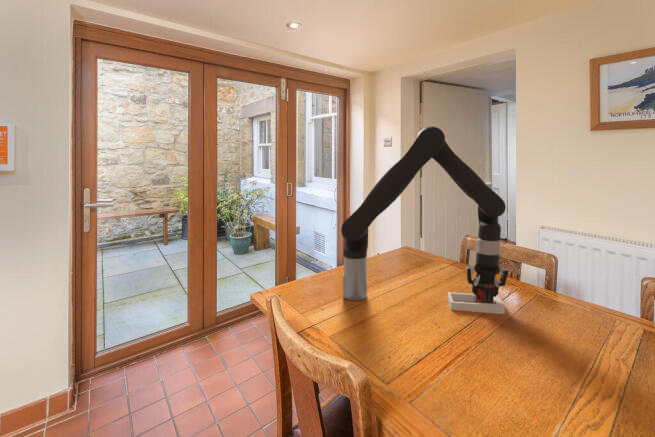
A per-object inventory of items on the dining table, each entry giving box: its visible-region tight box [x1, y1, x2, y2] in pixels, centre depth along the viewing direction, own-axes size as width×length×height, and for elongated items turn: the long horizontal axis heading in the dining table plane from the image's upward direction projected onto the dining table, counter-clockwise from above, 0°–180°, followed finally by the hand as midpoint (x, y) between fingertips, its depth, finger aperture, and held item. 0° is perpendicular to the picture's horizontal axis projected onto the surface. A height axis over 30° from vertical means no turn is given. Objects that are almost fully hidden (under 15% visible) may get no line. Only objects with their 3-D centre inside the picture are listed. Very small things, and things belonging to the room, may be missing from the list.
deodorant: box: [475, 269, 496, 304], centre depth 116 cm, size 6×6×15 cm
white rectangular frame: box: [447, 291, 506, 315], centre depth 118 cm, size 18×9×3 cm, turn 77°
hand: (484, 295), depth 117 cm, fingers closed on deodorant, 6 cm apart
